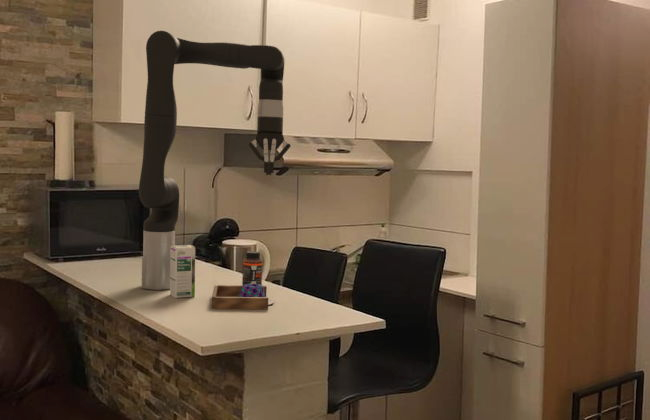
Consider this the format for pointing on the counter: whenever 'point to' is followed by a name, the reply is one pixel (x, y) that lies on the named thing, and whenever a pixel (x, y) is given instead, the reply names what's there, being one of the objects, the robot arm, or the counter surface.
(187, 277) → the syrup box
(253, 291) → the pudding
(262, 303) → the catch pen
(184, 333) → the counter surface
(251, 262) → the supplement bottle
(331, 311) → the counter surface
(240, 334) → the counter surface
